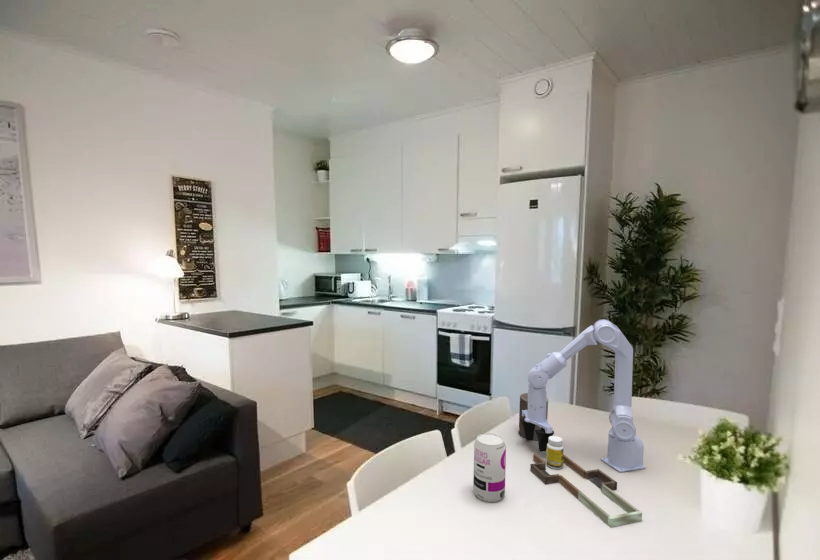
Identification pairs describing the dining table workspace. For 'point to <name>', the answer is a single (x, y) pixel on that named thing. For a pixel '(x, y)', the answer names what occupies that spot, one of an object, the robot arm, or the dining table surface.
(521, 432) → the pillar candle
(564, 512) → the dining table surface
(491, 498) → the supplement can
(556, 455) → the supplement bottle
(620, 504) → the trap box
